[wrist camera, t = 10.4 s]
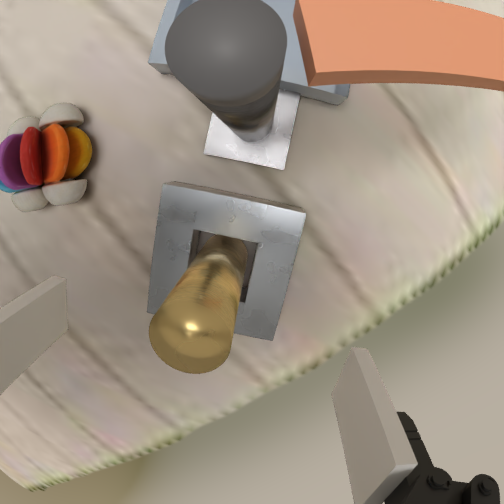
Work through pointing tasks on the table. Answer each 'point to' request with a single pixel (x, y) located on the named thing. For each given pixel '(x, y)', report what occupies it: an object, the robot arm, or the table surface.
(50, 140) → the rainbow disc toy
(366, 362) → the robot arm
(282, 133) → the gate post
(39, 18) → the table surface
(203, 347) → the pin
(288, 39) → the tray
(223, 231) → the hitch block
